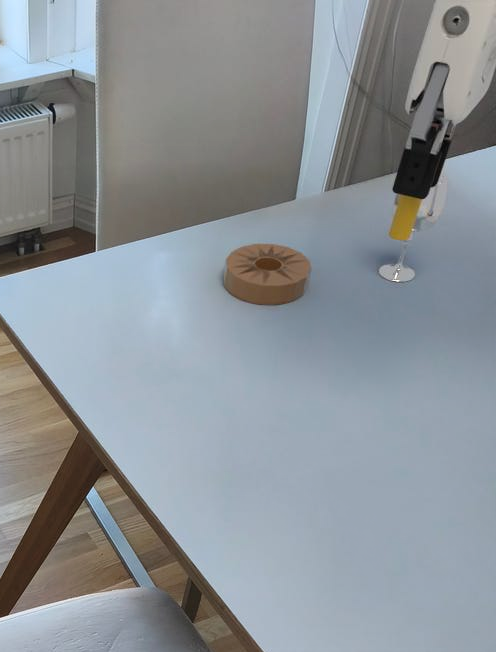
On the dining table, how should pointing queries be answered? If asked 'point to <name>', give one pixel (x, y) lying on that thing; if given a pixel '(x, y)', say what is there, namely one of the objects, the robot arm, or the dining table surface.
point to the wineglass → (418, 228)
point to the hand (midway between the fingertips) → (414, 187)
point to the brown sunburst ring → (266, 274)
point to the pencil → (405, 215)
